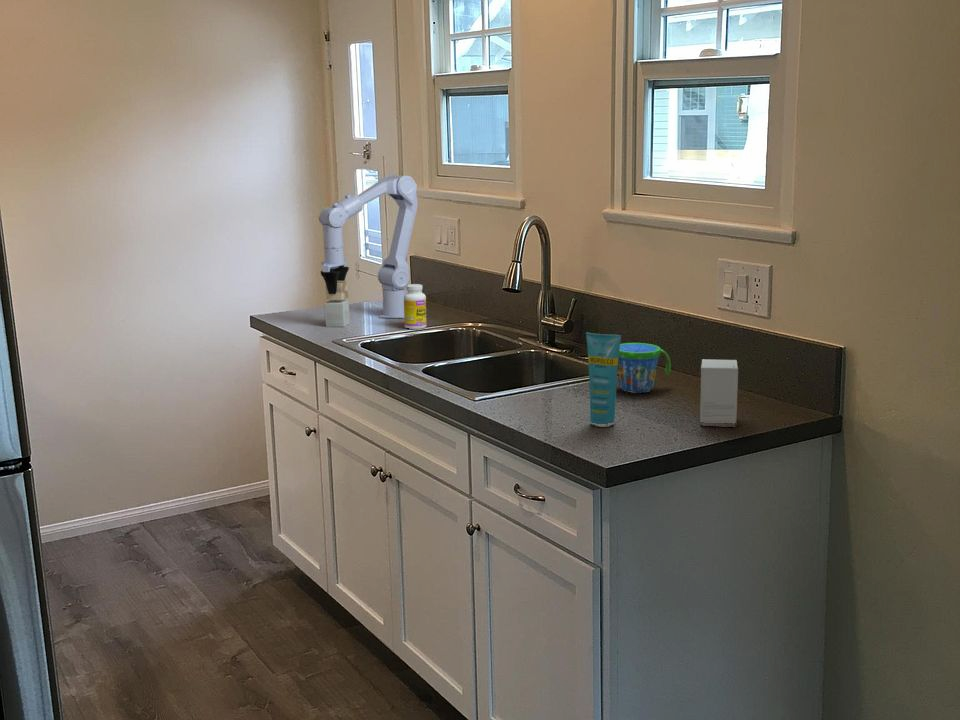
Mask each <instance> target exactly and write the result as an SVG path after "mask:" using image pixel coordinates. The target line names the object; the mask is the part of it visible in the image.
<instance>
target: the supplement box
mask: <svg viewBox="0 0 960 720" xmlns="http://www.w3.org/2000/svg"><path fill="white" fill-rule="evenodd" d="M738 367H739V366H738V361H737V359H710V358H709V359H705V358H704V359H703V358H702V359H701V364H700V403H699V404H700V405H699V406H700V407H699V409H700V410H699V411H700V412H699V415H700V416H699V417H700V418H699V422H704V423H733V424H734V423H736V424H737V418H738V417H737V414H738V413H737V412H738V389H739V388H738V383H739V368H738Z"/></svg>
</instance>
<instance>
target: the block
mask: <svg viewBox="0 0 960 720" xmlns="http://www.w3.org/2000/svg"><path fill="white" fill-rule="evenodd" d="M347 298H349V293H348V281H347V280H345V281H337V292H336V294H329V292H328V289H327V286H326V285H325V300H328V301H329V300H345V299H347Z"/></svg>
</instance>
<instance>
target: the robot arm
mask: <svg viewBox="0 0 960 720" xmlns="http://www.w3.org/2000/svg"><path fill="white" fill-rule="evenodd" d="M417 188H418V185H417V183H416V181H415V180H414V179H413V177H412V176H410V175H398V174H396V175H395V174H387V175H386V176H385V177H381V178H380V179H379V180H378V181H377V182H375V183H374V184H373V185H371V186H369V187H368V188H367V189H365V190H363V191H362V192H360V193H359V194H357V195H356V194H353V193H351V194H348V193H347V194H346V195H345V196H344V198H342V199H341V200H340V201H338V202H333V203H332V206H331V207H330V206H326V207H324V208H322V210H321V212H320V213H319V216H318V220H319V222H320V224H321V226H322V231H323V232H322V233H323V247H324V248H323V251H324V253H323V255H324V261H321V262H320V263H321V265H322V269H321V270H320V275H321V277H322V278H323V280H324V282H325V287H326V286H327V289H328V292H329V294H336V292H337V281H346V277H347V274H348V271H349V269H350V267H349V266H347V264H348V263H347V258H345V257H344V255H345V252H344V238H343V237H344V236H343V235H344V234H343V226H344V225H345V224H346V221H347V220H349V219H350V218H352V217H353V216H355V215H357V214H359V213H360V212H362V211H363V208H364V205H366V204H369V203H370V202H372V201H373V200H375V199H377V198H379V197H381V196H383V195H388V196H389V197H391V198H392V199H393V200H394V201H395V202H396V205H397V206H398V213H397V217H396V221H395V224H394V225H395V226H394V230H393V235H392V240H391V244H390V249H389V254H388V256H387V257H386V258H385V259H384V260H383V262H382V266H381V267H380V268H379V270H378V272H377V280H378V282H379V283H380V284H381V287H382V308H383V309H382V310H383V312H382V314H380V315H378V317H379V318H385V319H388V318H389V319H404V295H405V294H407V293H408V291H407V285H409V283H410V274H409V273H410V272H409V270H410V266H409V263H408V262H407V255H408V251H409V248H410V241H411V238H412V235H413V234H412V233H413V228H414V224H415V220H416V215H417V210H418V207H419V206H418V204H419V203H418V197H417Z"/></svg>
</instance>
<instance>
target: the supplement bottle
mask: <svg viewBox="0 0 960 720" xmlns="http://www.w3.org/2000/svg"><path fill="white" fill-rule="evenodd" d="M406 290H407V291H408V293H407V294H405V295H404V318H403V319H404V320H403V321H404V323H403V324H404V328H406V329H407V328H409V329H408V330H422V329H425V328H427V325H428V323H427V296H426V294H425V293H424V292H423V284H419V283H413V284H412V283H411V284H407V286H406Z"/></svg>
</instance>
